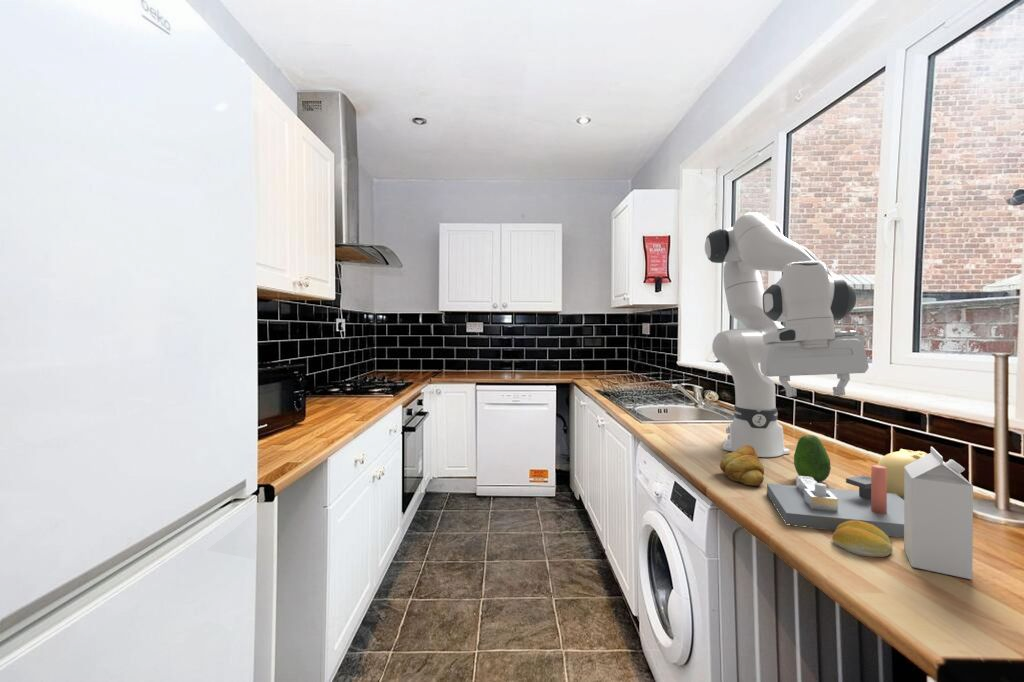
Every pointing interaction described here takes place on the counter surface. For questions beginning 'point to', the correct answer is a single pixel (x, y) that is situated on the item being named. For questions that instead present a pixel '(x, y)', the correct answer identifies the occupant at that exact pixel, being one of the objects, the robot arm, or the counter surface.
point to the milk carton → (938, 516)
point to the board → (839, 507)
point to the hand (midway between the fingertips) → (815, 396)
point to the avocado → (811, 458)
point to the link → (816, 502)
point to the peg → (879, 489)
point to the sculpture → (898, 468)
